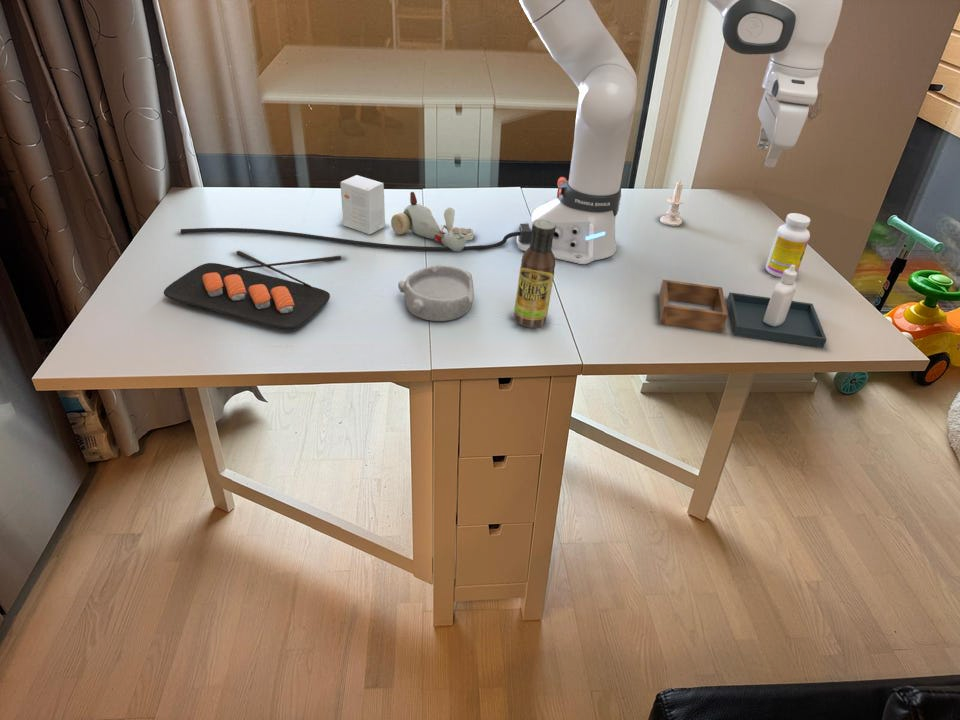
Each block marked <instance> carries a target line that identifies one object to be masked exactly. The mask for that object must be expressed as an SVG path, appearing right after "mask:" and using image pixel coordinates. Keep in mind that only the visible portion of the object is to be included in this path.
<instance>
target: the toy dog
mask: <svg viewBox="0 0 960 720" xmlns="http://www.w3.org/2000/svg"><path fill="white" fill-rule="evenodd" d="M409 202H410V204H409V205H407V207H405V208H404V210H403V212H398V213H395V214H393V216H391V220H390V224H391V228H392V230H393V231H394V232H395V233H396V234H398V235H404V234H407V233H408V232H409V231H411V232H413V233H414V234H416V235H418V236H421V237H423V238H427V239H431V240H435V241H436V242H437V243H439V244H442V245H443V246H444V247H449V248H450V249H451V250H453V251H452V252H461V251H460V250H462V249H463V248H464V247H465V246H466V245H467V244H466V243H467V241H472V240H473V239H474V235H475V234H474V229H472V228H469V227H468V228H467V227H457V226H454V222H455V209H454V208H453V207H447V208H446V209H445V210H444V212H443V216H444V222H445V224H441V228H440V227H439V224H438V222H437V221H436V219H435V217H434V216H433V213H432V211H431V209H430V208H429V207H427V206H424V205H422V204H419V203H418V199H417V196H416V193H415V192H414V191H410V193H409ZM444 229H446V231H447V232H445V231H444Z"/></svg>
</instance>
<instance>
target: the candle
mask: <svg viewBox="0 0 960 720" xmlns="http://www.w3.org/2000/svg"><path fill="white" fill-rule="evenodd" d="M682 190H683V183H682V182H681V181H677V182H676V183H675V187H674V192H673V196H672V197H669V198H667V202H668V203H669V204H670V205H669V207H668V208H669V209H667V210H666V212H665V215H661V216H660V219H659V220H660V222H661V223H662V224H664V225H666V226H669V227H679V226H680V225H682V223H683V220H682V218H680V217H679V216H680V211H679V209H680V206H681V205H683V204H684V200H683V199H681V197H682V196H681V195H682Z"/></svg>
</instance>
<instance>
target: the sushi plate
mask: <svg viewBox="0 0 960 720" xmlns="http://www.w3.org/2000/svg"><path fill="white" fill-rule="evenodd" d="M236 254H237V255H238V256H240V257H242V258H245V259H247V260H249V261H251V262H254V263H256V264H257V265H248V266H247V265H246V266H240V267H239V266H238V267H236V266H231V265H227V264H223V263H216V262H207V263H202V264H200V265H199V266H197V267H194V268H193V269H191V270H190V271H188V272H186V273H185V274H183V275H182V276H180V277H179V278H178V279H176V280H174V281H173V282H171V283H170V284H169V285H167V286H166V287H165V289H164V290H163V295H164V296H165V297H166V298H168V299H170V300H173V301H176V302H180V303H183V304H187V305H191V306H194V307H198V308H201V309H202V308H203V309H206V310H209V311H213V312H217V313H220V314H224V315H229V316H231V317H236V318H239V319H243V320H247V321H251V322H254V323H258V324H262V325H266V326H269V327H272V328H273V327H274V328H278V329H284V330H292V329H293V330H294V329H296V328H299V327H301V326H302V325H304V324H305V323H306V322H308V321H309V320H310V319H311V318H312V317H314V316H315V315H316V314H317V313H318V312H319V311H320V310H321V309H322V308H323V307H324V306H325V305H326V304H327V303H328V302H329V301H330V298H331V294H330V292H328V291H327V290H325V289H321V288H319V287H315V286H312V285H310V284H308V283H306V282H304V281H302V280H300V279H298V278H296V277H294V276H291V275H290V274H287V273H286V272H284V271H282V270H279V269H277V268H276V267H275V266H285V265H296V264H307V263H309V264H310V263H318V262H319V263H320V262H329V261H337V260H338V261H339V260H342V256H341V255H337V256H336V255H335V256H326V257H325V256H324V257H316V258H309V259H301V260H292V261H291V260H290V261H283V262H275V263H265V262H263V261H261V260H259V259H257V258H255V257H253V256H251V255H249V254H247V253H245V252H243V251H241V250H236ZM256 268H266V269H270V270H272V271H274V272H275V273H279V274H281V275H283V276H285V277H287V278H289V279H290V280H288V279H284V278H279V277H275V276H272V275H268V274H263V273H260V272H257V271H251V270H248V269H256ZM292 280H294V281H292Z"/></svg>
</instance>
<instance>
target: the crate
mask: <svg viewBox="0 0 960 720" xmlns="http://www.w3.org/2000/svg"><path fill="white" fill-rule="evenodd" d="M669 301H675V302H679V303H681V302H682V303H689V304H696V305H703V306H708V307H709V306H710V307H713V310H710V309H702V308H696V307H688V306H683V305H682V306H681V305H675V304H669ZM658 307H659V308H658V309H659V311H658V312H659V324H660V325H666V326H672V327H679V328H684V329H685V328H687V329H693V330H699V331H706V332H707V331H708V332H714V333H720V334H723V331H724V329H725V325H726V321H727V320H728V314H729V313H728V310H727V303H726V299H725V295H724V290H723V287H721V286H720V287H719V286H714V285H707V284H700V283H699V284H698V283H692V282H685V281H678V280H670V279H662V281H661V286H660V290H659V295H658Z"/></svg>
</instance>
